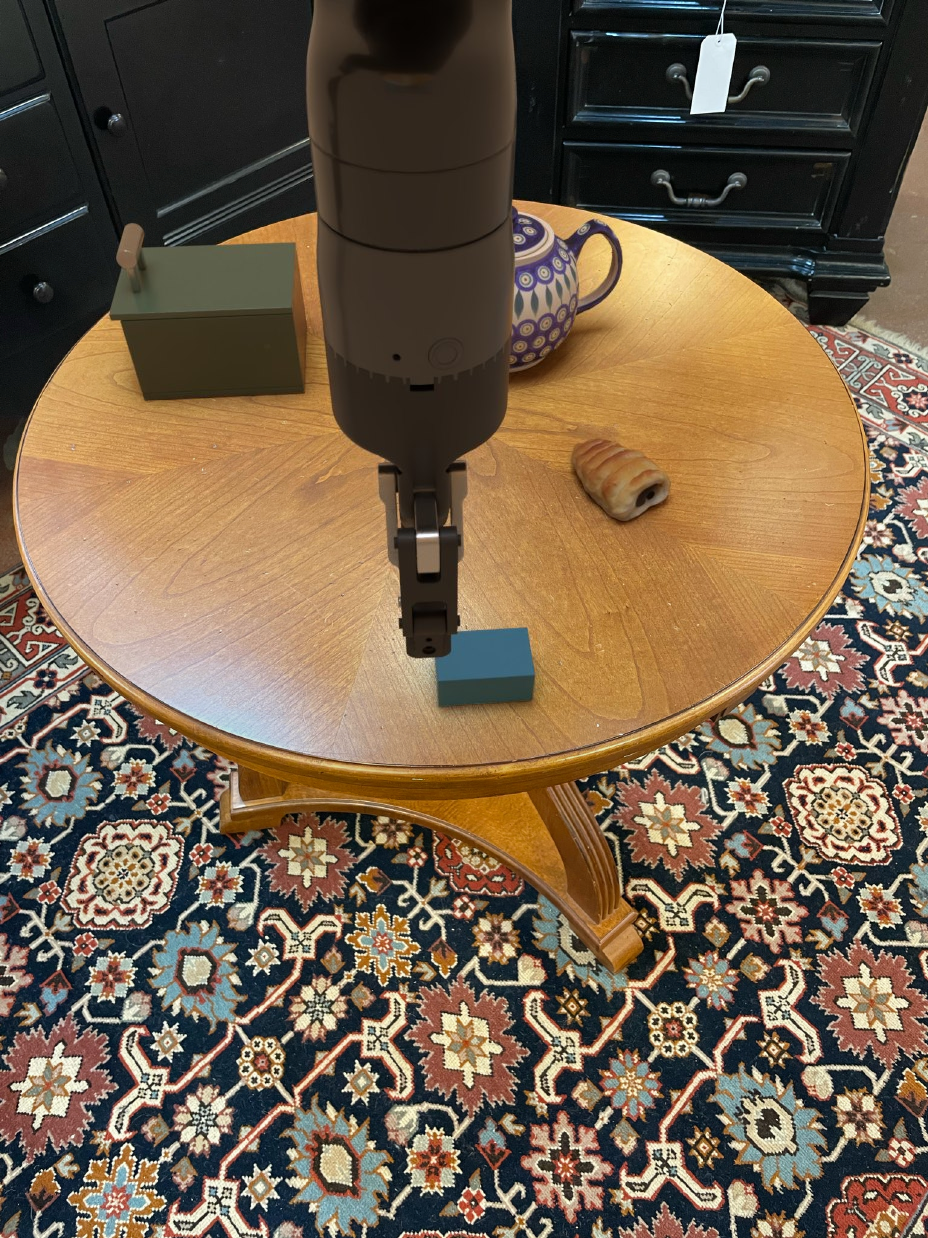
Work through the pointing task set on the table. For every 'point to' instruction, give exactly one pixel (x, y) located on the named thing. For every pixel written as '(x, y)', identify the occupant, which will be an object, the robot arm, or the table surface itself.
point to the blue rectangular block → (486, 668)
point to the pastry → (619, 477)
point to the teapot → (551, 285)
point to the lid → (202, 279)
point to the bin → (220, 353)
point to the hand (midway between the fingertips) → (424, 588)
